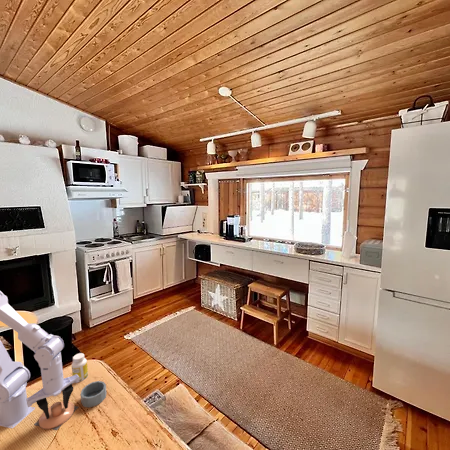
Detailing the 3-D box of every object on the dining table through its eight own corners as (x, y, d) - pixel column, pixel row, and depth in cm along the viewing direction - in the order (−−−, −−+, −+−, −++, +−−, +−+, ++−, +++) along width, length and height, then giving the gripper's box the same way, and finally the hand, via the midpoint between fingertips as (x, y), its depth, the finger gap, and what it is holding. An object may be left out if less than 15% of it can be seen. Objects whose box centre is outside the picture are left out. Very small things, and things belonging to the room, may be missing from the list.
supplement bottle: (86, 371, 108) (84, 350, 106) (90, 378, 104) (87, 356, 102) (71, 378, 104) (69, 355, 103) (74, 385, 100) (72, 362, 99)
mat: (34, 426, 83) (33, 424, 83) (57, 403, 91) (57, 402, 91) (57, 431, 81) (56, 430, 81) (79, 408, 89) (78, 406, 89)
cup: (76, 406, 90) (75, 396, 90) (92, 389, 98) (91, 379, 97) (96, 410, 89) (95, 399, 88) (111, 392, 96) (110, 382, 96)
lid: (31, 425, 82) (29, 415, 82) (57, 401, 92) (56, 391, 91) (56, 431, 80) (55, 421, 80) (81, 405, 90) (80, 396, 89)
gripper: (27, 394, 76) (33, 434, 78) (80, 369, 87) (84, 404, 88) (23, 382, 81) (28, 420, 83) (73, 359, 91) (77, 394, 93)
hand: (56, 411), depth 86 cm, fingers open, 5 cm apart
